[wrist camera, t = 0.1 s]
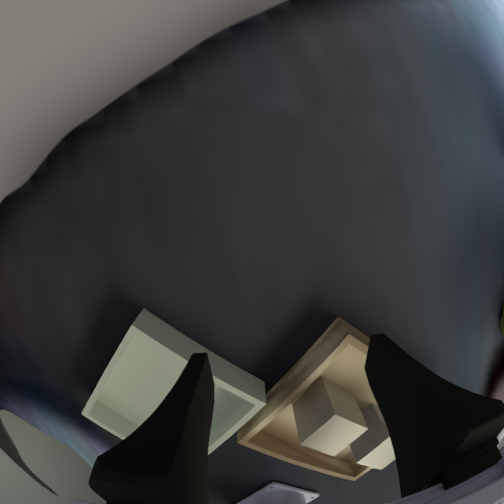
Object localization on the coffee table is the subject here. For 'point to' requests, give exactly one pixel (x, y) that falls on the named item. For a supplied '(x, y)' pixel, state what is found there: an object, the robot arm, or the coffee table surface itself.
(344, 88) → the coffee table surface
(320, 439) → the stone
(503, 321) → the plant pot
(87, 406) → the green bin
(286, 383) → the birch bin
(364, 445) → the grey block
